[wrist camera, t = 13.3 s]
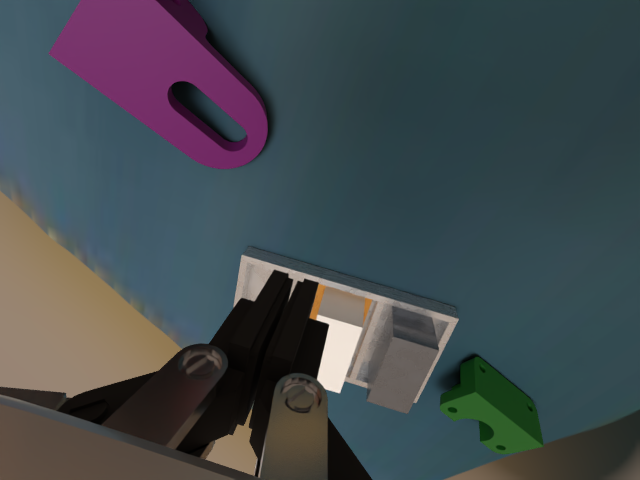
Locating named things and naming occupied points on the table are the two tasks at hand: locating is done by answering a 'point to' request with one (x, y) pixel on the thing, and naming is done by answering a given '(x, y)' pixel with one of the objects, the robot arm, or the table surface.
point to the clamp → (493, 408)
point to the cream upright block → (339, 335)
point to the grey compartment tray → (370, 327)
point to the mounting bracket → (162, 73)
